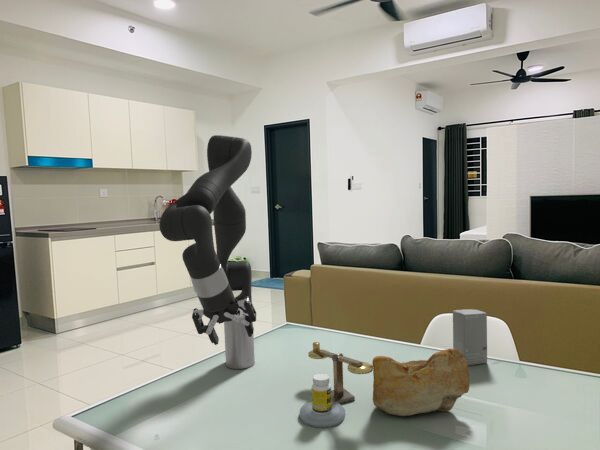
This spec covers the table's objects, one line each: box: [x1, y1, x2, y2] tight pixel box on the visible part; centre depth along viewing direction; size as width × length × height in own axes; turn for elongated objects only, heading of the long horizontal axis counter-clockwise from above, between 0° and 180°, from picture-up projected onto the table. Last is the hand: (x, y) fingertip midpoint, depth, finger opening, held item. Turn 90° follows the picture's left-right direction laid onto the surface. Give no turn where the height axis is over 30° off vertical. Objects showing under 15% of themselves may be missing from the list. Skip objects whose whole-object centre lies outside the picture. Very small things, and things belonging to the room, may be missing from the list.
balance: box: [307, 341, 373, 405], centre depth 115 cm, size 28×6×13 cm, turn 24°
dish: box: [299, 401, 346, 429], centre depth 107 cm, size 11×11×1 cm
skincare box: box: [452, 308, 488, 366], centre depth 137 cm, size 8×7×16 cm
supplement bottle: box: [311, 373, 332, 415], centre depth 106 cm, size 5×5×8 cm
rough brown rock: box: [372, 348, 471, 417], centre depth 111 cm, size 23×17×15 cm
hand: (233, 338), depth 107 cm, fingers open, 8 cm apart
